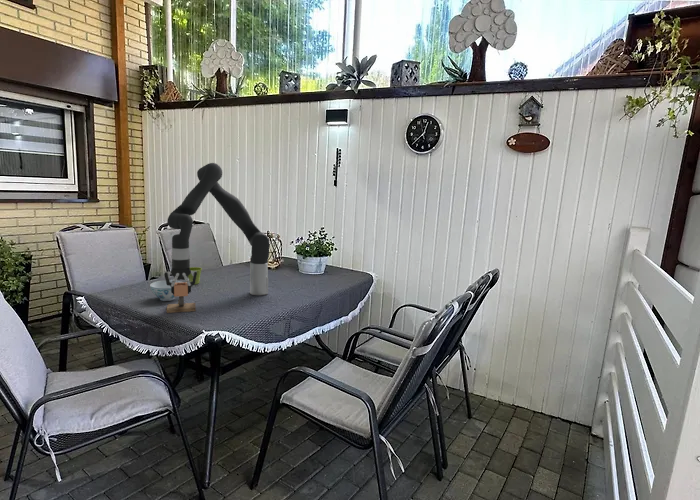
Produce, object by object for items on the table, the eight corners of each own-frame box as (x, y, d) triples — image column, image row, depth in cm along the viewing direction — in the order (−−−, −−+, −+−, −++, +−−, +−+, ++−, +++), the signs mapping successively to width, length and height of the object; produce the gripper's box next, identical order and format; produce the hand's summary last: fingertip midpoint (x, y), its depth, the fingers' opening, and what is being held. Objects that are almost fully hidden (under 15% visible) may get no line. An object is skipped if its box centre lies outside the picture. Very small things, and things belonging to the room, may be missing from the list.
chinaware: (174, 293, 202) (174, 278, 201) (189, 299, 192) (189, 284, 191) (145, 298, 190) (144, 283, 189) (159, 305, 181) (158, 289, 180)
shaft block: (195, 305, 183) (195, 290, 182) (195, 311, 176) (195, 295, 175) (167, 307, 179) (167, 291, 178) (166, 312, 172) (166, 296, 170)
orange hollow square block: (188, 292, 180) (187, 282, 179) (187, 295, 175) (187, 285, 174) (174, 293, 178) (174, 282, 177) (174, 296, 173) (174, 285, 172)
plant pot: (190, 286, 216) (190, 271, 214) (181, 283, 221) (181, 268, 220) (205, 283, 223) (205, 269, 222) (196, 280, 229) (196, 266, 227)
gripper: (197, 255, 180) (198, 290, 183) (163, 256, 174) (164, 292, 177) (197, 259, 173) (198, 295, 176) (162, 259, 168) (163, 296, 170)
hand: (181, 293), depth 176 cm, fingers closed on orange hollow square block, 5 cm apart
